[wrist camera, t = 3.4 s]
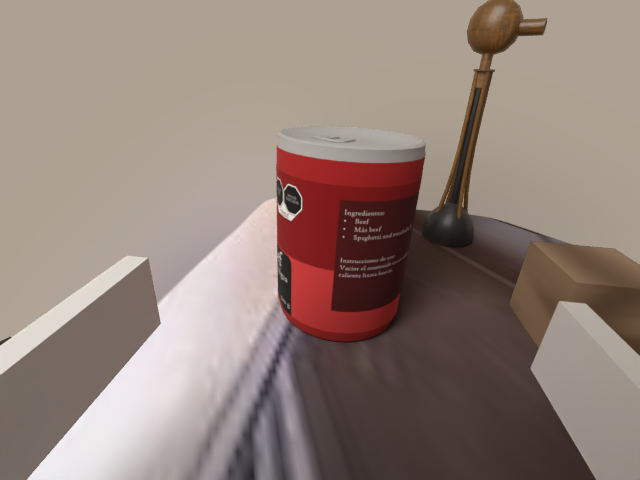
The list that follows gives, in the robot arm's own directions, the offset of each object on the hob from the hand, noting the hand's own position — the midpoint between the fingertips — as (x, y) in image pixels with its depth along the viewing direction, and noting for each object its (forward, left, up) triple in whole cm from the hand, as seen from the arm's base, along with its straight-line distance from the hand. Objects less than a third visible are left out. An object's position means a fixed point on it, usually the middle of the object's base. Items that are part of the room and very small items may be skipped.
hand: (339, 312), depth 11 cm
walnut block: (-9, -14, -7) cm, 18 cm away
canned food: (+4, -8, -7) cm, 12 cm away
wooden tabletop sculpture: (0, -25, -7) cm, 26 cm away
